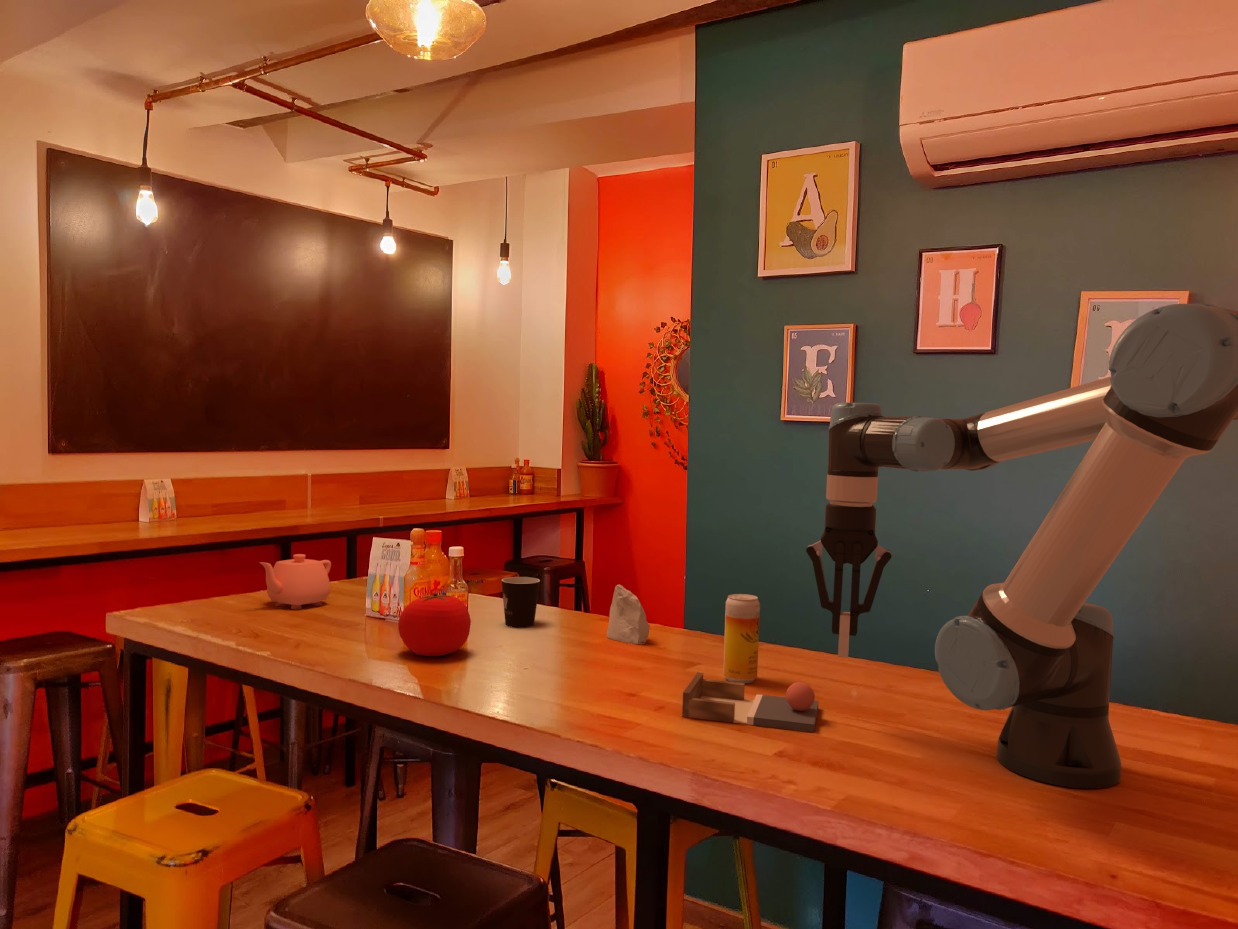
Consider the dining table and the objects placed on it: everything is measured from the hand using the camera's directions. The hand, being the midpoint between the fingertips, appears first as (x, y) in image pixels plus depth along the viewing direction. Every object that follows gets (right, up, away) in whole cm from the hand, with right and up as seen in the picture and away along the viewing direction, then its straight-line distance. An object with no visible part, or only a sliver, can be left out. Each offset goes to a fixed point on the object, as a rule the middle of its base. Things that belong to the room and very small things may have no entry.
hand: (843, 655), depth 135 cm
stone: (-33, -8, +50) cm, 60 cm away
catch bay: (-19, -10, +6) cm, 22 cm away
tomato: (-70, -7, +34) cm, 79 cm away
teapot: (-112, -5, +75) cm, 135 cm away
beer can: (-13, -9, +22) cm, 28 cm away
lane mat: (-14, -10, +4) cm, 17 cm away
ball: (-6, -7, +2) cm, 9 cm away
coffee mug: (-57, -7, +63) cm, 85 cm away
